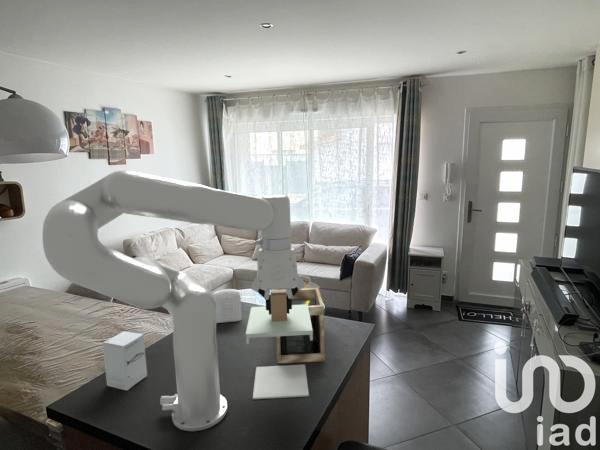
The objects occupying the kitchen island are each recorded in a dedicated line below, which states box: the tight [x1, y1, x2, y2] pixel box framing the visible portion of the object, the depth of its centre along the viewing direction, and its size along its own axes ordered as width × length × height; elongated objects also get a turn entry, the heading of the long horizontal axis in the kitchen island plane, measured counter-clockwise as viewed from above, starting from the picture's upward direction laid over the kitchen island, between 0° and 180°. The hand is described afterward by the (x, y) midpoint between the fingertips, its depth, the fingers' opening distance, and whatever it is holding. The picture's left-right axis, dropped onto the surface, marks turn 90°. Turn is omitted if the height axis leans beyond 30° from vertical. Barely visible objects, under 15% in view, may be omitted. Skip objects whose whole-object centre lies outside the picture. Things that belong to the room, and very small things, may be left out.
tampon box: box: [281, 299, 317, 355], centre depth 112 cm, size 11×9×15 cm
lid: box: [245, 289, 313, 345], centre depth 93 cm, size 16×17×10 cm
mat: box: [252, 364, 310, 400], centre depth 96 cm, size 14×14×1 cm
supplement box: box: [101, 331, 148, 391], centre depth 97 cm, size 7×7×13 cm
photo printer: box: [213, 288, 242, 324], centre depth 135 cm, size 10×4×12 cm, turn 102°
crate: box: [276, 288, 326, 364], centre depth 112 cm, size 14×16×17 cm
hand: (279, 311), depth 93 cm, fingers closed on lid, 4 cm apart
